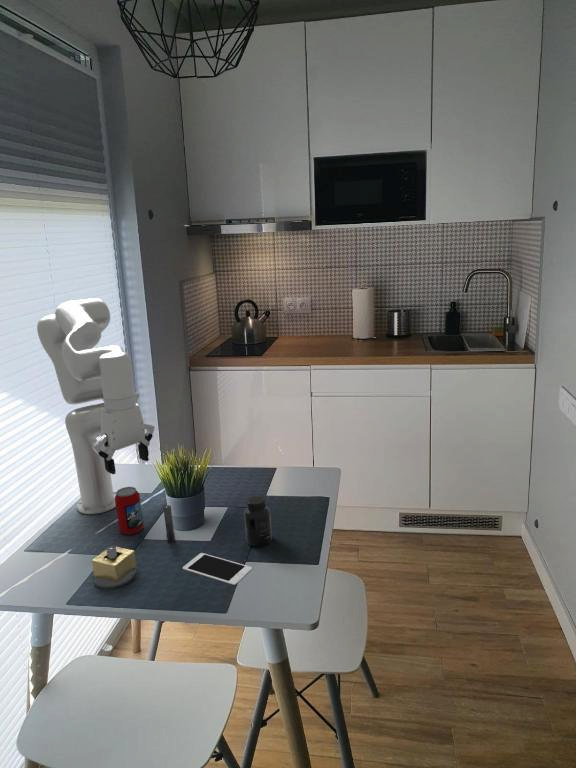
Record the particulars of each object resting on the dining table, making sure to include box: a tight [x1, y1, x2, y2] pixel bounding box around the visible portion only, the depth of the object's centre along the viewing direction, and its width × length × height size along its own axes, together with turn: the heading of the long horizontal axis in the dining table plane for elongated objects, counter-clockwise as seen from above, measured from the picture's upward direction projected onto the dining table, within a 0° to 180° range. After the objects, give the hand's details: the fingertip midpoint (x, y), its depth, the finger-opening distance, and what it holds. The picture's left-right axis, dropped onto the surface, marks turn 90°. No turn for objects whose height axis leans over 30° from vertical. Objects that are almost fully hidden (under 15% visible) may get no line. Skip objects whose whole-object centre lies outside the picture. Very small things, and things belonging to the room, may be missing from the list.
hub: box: [93, 545, 138, 590], centre depth 143 cm, size 10×10×8 cm
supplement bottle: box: [243, 495, 273, 548], centre depth 155 cm, size 7×7×12 cm
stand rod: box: [162, 504, 176, 543], centre depth 158 cm, size 2×2×10 cm
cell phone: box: [182, 552, 253, 586], centre depth 146 cm, size 8×16×1 cm, turn 60°
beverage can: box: [115, 486, 144, 535], centre depth 165 cm, size 7×7×12 cm
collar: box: [91, 546, 137, 583], centre depth 143 cm, size 7×7×4 cm
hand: (128, 466), depth 150 cm, fingers open, 9 cm apart
